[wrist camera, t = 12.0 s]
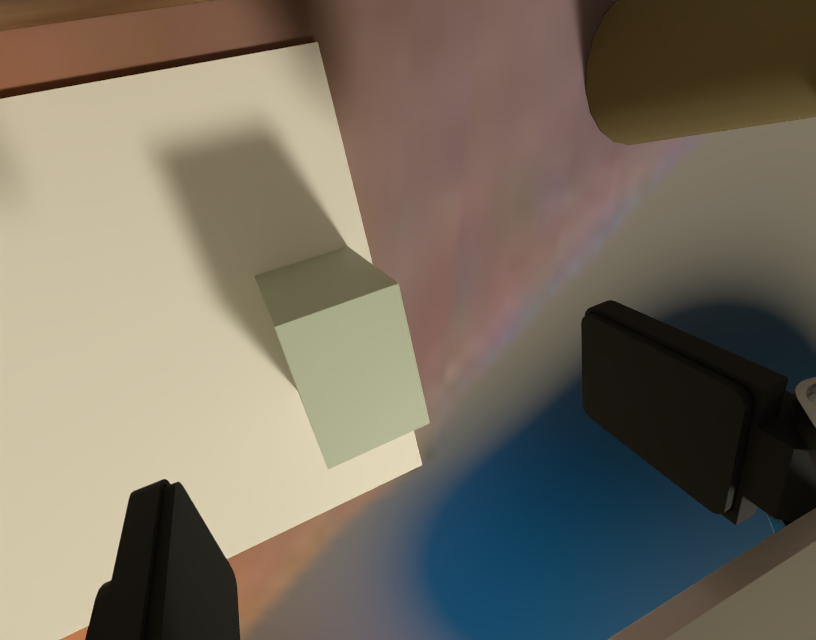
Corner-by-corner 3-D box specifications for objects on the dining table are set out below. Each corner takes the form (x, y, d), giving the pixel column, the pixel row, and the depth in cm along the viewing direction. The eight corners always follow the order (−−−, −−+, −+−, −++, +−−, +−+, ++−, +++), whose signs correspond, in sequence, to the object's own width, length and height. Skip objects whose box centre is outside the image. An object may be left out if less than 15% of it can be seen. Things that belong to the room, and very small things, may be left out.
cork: (576, 145, 19) (926, 152, 10) (598, -26, 17) (1078, -224, 8) (675, 144, 22) (1040, 150, 12) (707, -7, 19) (1184, -144, 10)
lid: (312, 46, 15) (368, 1, 10) (415, 455, 23) (475, 543, 18) (-479, 190, 10) (-1163, 243, 5) (6, 648, 18) (-68, 844, 13)
